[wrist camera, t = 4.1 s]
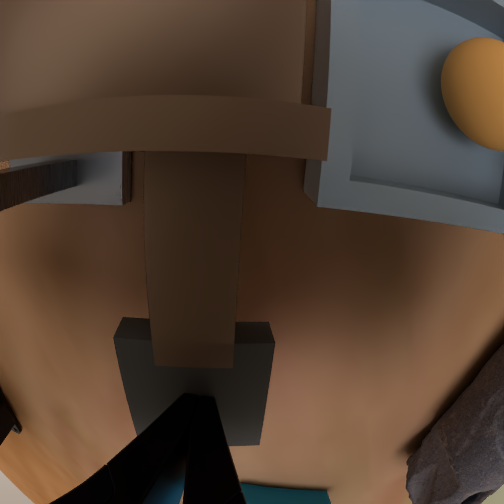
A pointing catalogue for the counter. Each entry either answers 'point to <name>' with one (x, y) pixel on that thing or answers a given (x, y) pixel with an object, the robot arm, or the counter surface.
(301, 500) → the blue piece
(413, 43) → the bin
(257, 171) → the counter surface
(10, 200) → the stand
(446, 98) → the ball
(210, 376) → the lever
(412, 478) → the perforated stone tool
